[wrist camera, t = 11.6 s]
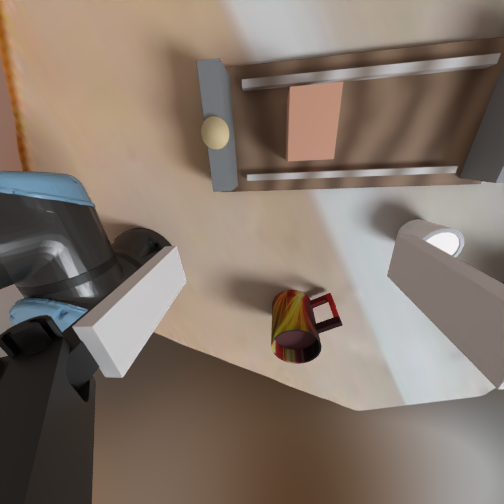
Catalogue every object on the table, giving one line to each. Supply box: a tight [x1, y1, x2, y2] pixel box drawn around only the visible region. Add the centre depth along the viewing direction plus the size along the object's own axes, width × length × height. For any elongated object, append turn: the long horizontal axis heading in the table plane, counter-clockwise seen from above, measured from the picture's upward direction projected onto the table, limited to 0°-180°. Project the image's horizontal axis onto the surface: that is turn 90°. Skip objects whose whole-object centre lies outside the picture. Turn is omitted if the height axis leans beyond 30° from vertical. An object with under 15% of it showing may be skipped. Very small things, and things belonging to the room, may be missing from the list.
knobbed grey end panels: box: [197, 58, 504, 192], centre depth 28 cm, size 44×16×7 cm, turn 93°
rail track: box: [221, 37, 504, 192], centre depth 31 cm, size 44×18×2 cm, turn 93°
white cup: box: [397, 219, 465, 258], centre depth 35 cm, size 7×7×7 cm
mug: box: [271, 290, 342, 363], centre depth 43 cm, size 10×14×12 cm
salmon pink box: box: [285, 82, 343, 161], centre depth 28 cm, size 6×8×8 cm
